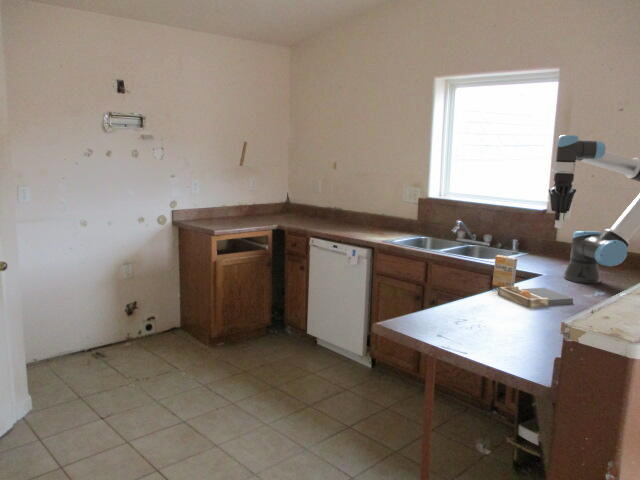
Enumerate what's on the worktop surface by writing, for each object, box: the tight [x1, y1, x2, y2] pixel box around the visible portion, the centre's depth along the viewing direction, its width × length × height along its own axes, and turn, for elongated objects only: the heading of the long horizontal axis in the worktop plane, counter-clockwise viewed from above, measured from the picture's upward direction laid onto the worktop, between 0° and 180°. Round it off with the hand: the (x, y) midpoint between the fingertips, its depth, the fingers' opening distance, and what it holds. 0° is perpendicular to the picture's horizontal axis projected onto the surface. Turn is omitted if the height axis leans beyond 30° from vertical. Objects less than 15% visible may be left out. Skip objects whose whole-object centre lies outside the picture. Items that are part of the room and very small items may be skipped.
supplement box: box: [492, 254, 518, 287], centre depth 227 cm, size 8×5×13 cm, turn 52°
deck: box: [518, 287, 574, 306], centre depth 211 cm, size 13×16×2 cm
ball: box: [520, 290, 531, 299], centre depth 208 cm, size 4×4×4 cm
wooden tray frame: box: [497, 285, 549, 308], centre depth 208 cm, size 9×18×3 cm, turn 19°
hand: (558, 227), depth 226 cm, fingers closed
